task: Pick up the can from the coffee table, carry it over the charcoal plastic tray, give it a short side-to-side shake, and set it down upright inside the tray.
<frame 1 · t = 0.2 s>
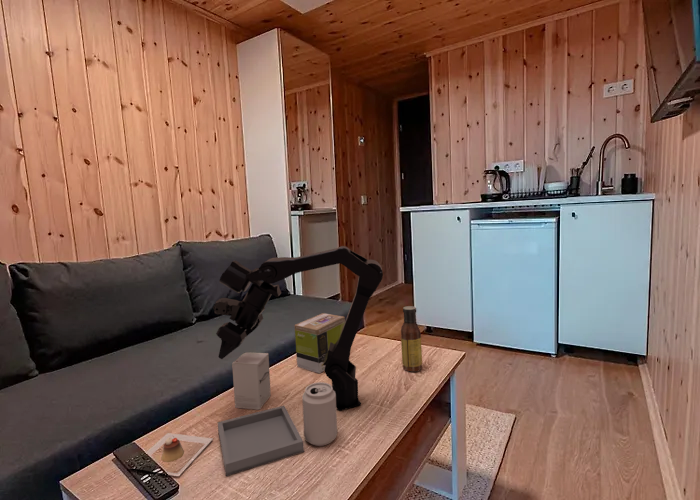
hand: (227, 351, 99), 15 cm above the table, tool tilted 30°, fingers open, 9 cm apart
sauce bottle: (411, 369, 119), on the table
supplement box: (253, 402, 101), on the table
can: (320, 438, 85), on the table
tray: (259, 441, 84), on the table
dessert: (173, 458, 81), on the table
tea box: (322, 363, 125), on the table
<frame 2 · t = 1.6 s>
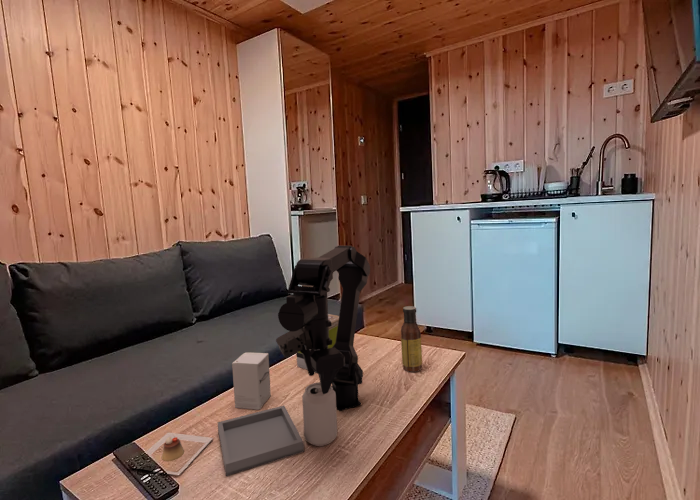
hand: (317, 383, 83), 13 cm above the table, tool pointing down, fingers open, 9 cm apart
nothing on the table moved.
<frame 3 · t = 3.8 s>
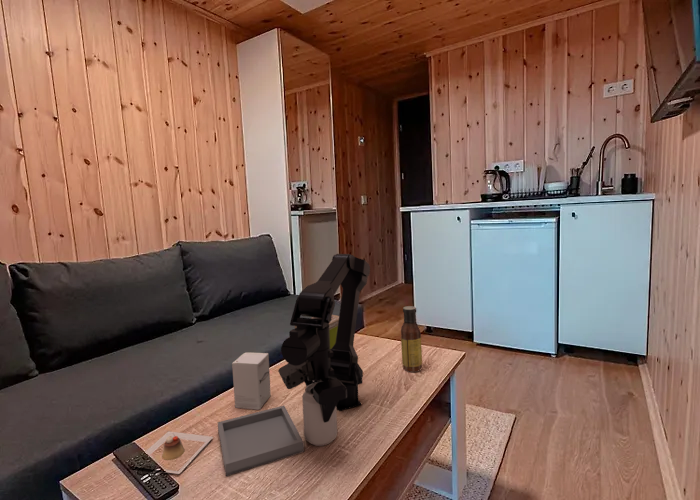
hand: (319, 412, 84), 6 cm above the table, tool pointing down, fingers closed on can, 7 cm apart
can: (320, 438, 85), on the table, touching gripper
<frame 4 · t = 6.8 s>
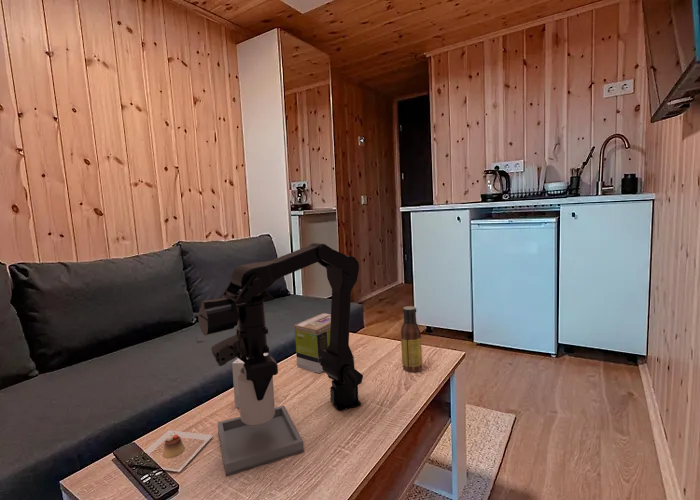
hand: (256, 391, 83), 12 cm above the table, tool pointing down, fingers closed on can, 7 cm apart
can: (258, 419, 83), point 5 cm above the table, touching gripper
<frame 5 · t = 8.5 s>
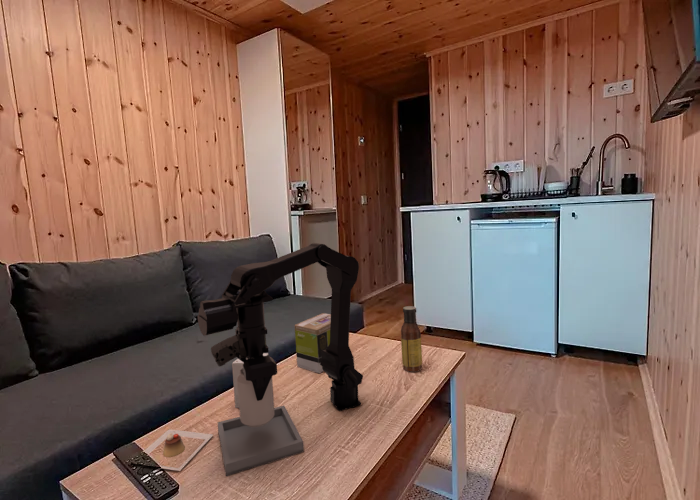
hand: (256, 391, 83), 12 cm above the table, tool pointing down, fingers closed on can, 7 cm apart
can: (257, 420, 84), point 5 cm above the table, touching gripper
when the fingers open (8 cm above the table, at t = 10.1 s): can stays where it is, resting on tray.
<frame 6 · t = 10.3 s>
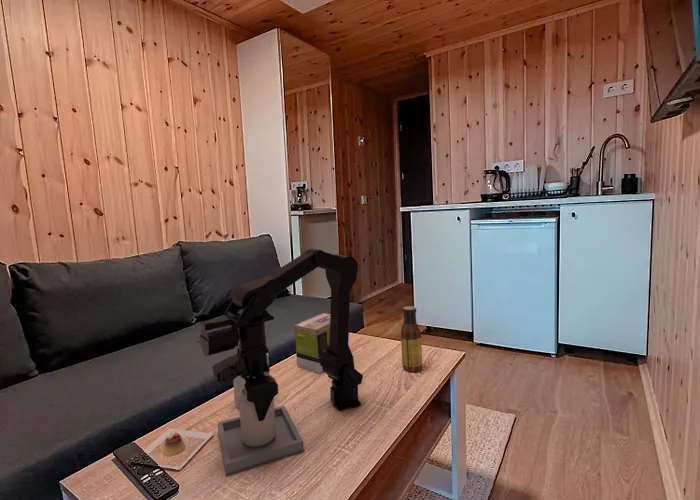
hand: (257, 410, 83), 8 cm above the table, tool pointing down, fingers open, 9 cm apart
can: (259, 439, 84), resting on tray
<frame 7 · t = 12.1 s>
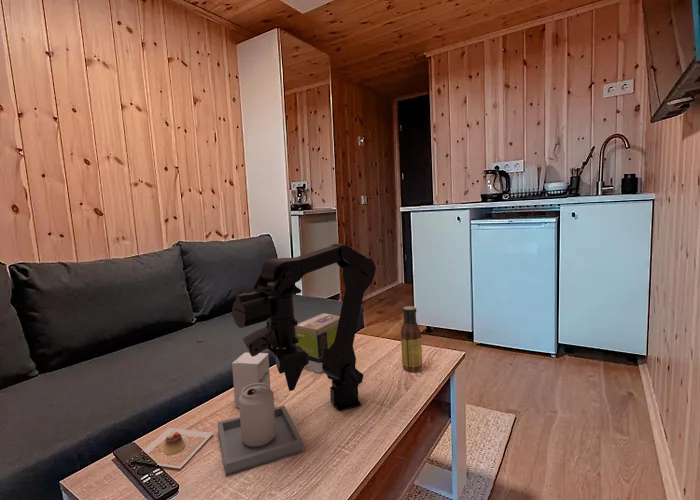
hand: (286, 381, 86), 13 cm above the table, tool pointing down, fingers open, 9 cm apart
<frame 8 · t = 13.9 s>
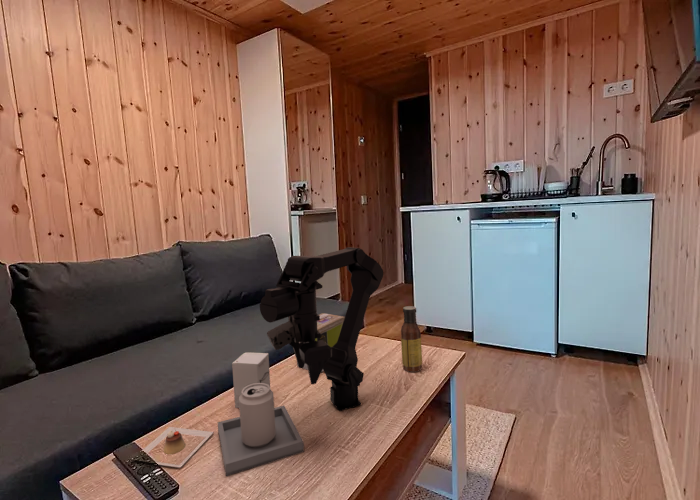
hand: (307, 375, 87), 13 cm above the table, tool pointing down, fingers open, 9 cm apart
at the end: can inside the target area on the tray (0.1 cm from its centre), point 0.4 cm above the tray's base; can tilted 0°; the gripper is holding nothing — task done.
